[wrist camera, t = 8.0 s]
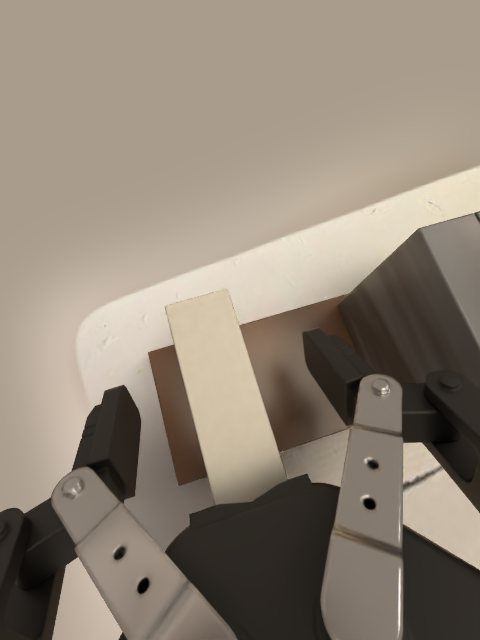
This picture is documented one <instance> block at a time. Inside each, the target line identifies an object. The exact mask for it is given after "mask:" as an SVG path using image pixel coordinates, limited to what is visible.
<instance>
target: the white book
mask: <svg viewBox="0 0 480 640" xmlns="http://www.w3.org/2000/svg"><path fill="white" fill-rule="evenodd" d="M165 310H166V314H167V318H168V322H169V326H170V330H171V334H172V338H173V342H174V346H175V349H176V353H177V357H178V361H179V365H180V369H181V373H182V377H183V381H184V385H185V389H186V393H187V397H188V401H189V405H190V409H191V413H192V417H193V421H194V424H195V428H196V432H197V436H198V440H199V444H200V448H201V452H202V456H203V460H204V464H205V468H206V472H207V476H208V480H209V484H210V488H211V492H212V496H213V499H214V503H215V505H218V504H228V503H243V502H249V501H252V500H255V499H257V498H258V497H260V496H261V495H263V494H264V493H266V492H267V491H268V490H270V489H271V488H273V487H274V486H276V485H277V484H279V483H282V482H285V481H287V476H286V473H285V470H284V467H283V464H282V460H281V457H280V454H279V451H278V448H277V445H276V441H275V438H274V435H273V432H272V429H271V426H270V422H269V419H268V416H267V413H266V410H265V406H264V403H263V400H262V397H261V394H260V391H259V387H258V384H257V381H256V378H255V375H254V371H253V368H252V365H251V362H250V359H249V356H248V352H247V349H246V346H245V343H244V340H243V336H242V333H241V330H240V327H239V324H238V321H237V317H236V314H235V311H234V308H233V305H232V301H231V298H230V295H229V292H228V290H227V289H224V290H220V291H217V292H213V293H209V294H206V295H202V296H199V297H195V298H192V299H188V300H184V301H181V302H177V303H174V304H170V305H167V306H165Z"/></svg>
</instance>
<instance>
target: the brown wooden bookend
mask: <svg viewBox="0 0 480 640" xmlns="http://www.w3.org/2000/svg"><path fill="white" fill-rule="evenodd" d="M239 327H240V330H241V333H242V336H243V340H244V343H245V346H246V349H247V352H248V356H249V359H250V362H251V365H252V368H253V371H254V375H255V378H256V381H257V384H258V387H259V391H260V394H261V397H262V400H263V403H264V406H265V410H266V413H267V416H268V419H269V422H270V426H271V429H272V432H273V435H274V438H275V441H276V445H277V448H278V451H279V452H281V451H284V450H287V449H290V448H293V447H296V446H299V445H302V444H305V443H307V442H310V441H313V440H316V439H319V438H322V437H325V436H328V435H331V434H334V433H337V432H340V431H343V430H346V429H349V428H351V425H349V426H346V425H345V424H344V422H343V421H342V419H341V418H340V416H339V415H338V413H337V412H336V410H335V409H334V407H333V406H332V404H331V403H330V401H329V400H328V398H327V397H326V395H325V394H324V392H323V391H322V389H321V388H320V387H319V385H318V384H317V382H316V381H315V379H314V378H313V376H312V375H311V373H310V372H309V370H308V368H307V365H306V362H305V356H304V346H303V337H302V333H303V332H304V331H307V330H311V329H314V328H317V327H320V328H321V329H322V330H323V331H324V332H325V334H326V335H327V336H330V335H333V334H334V335H336V336H338V337H340V338H343V339H344V340H345V341H346V342H347V343H348V344H349V345H350V346H351V348H353V349H354V350H355V351H356V353H358V354H359V355H360V356H361V357H362V358H363V359H364V360H365V361H366V362H367V363H368V364H369V365H370V366H371V367H372V368H373V369H374V370H375V371H376V372H377V373H378V374H383V375H387V376H390V377H392V378H394V379H395V380H397V381H398V382H399V383H402V384H408V383H425V379H426V376H427V375H428V374H429V373H431V372H433V371H438V370H447V371H453V372H456V373H459V374H461V375H463V376H465V377H466V378H468V379H469V380H470V381H471V382H473V383H474V384H475V385H476V386H478V387H479V388H480V211H479V212H476V213H474V214H469V215H465V216H462V217H458V218H454V219H451V220H447V221H444V222H440V223H436V224H433V225H429V226H426V227H422V228H419V229H417V230H416V231H415V232H414V233H413V234H412V235H411V236H410V237H409V238H408V239H407V240H406V241H405V242H404V243H403V244H402V245H400V246H399V247H398V248H397V249H396V250H395V251H394V252H393V253H392V254H391V255H390V256H389V257H388V258H387V259H386V260H384V261H383V262H382V263H381V264H380V265H379V266H378V267H377V268H376V269H375V270H374V271H373V272H372V273H371V274H370V275H368V276H367V277H366V278H365V279H364V280H363V281H362V282H361V283H360V284H359V285H358V286H357V287H356V288H355V289H354V290H353V291H351V292H350V293H349V294H346V295H342V296H339V297H335V298H332V299H328V300H325V301H322V302H318V303H315V304H311V305H308V306H305V307H301V308H298V309H294V310H291V311H288V312H284V313H281V314H277V315H274V316H270V317H267V318H264V319H260V320H257V321H253V322H250V323H247V324H243V325H240V326H239ZM148 354H149V359H150V363H151V367H152V372H153V376H154V381H155V385H156V389H157V394H158V398H159V402H160V407H161V411H162V415H163V420H164V424H165V429H166V433H167V437H168V442H169V446H170V450H171V455H172V459H173V463H174V468H175V472H176V477H177V481H178V485H179V486H180V485H183V484H186V483H189V482H192V481H195V480H198V479H201V478H204V477H207V472H206V468H205V464H204V460H203V456H202V452H201V448H200V444H199V440H198V436H197V432H196V428H195V424H194V421H193V417H192V413H191V409H190V405H189V401H188V397H187V393H186V389H185V385H184V381H183V377H182V373H181V369H180V365H179V361H178V357H177V353H176V349H175V346H174V345H171V346H168V347H165V348H161V349H158V350H154V351H151V352H148Z"/></svg>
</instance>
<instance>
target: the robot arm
mask: <svg viewBox="0 0 480 640" xmlns="http://www.w3.org/2000/svg"><path fill="white" fill-rule="evenodd" d="M302 337H303V346H304V356H305V362H306V365H307V368H308V370H309V372H310V373H311V375H312V376H313V378H314V379H315V381H316V382H317V384H318V385H319V387H320V388H321V389H322V391H323V392H324V394H325V395H326V397H327V398H328V400H329V401H330V403H331V404H332V406H333V407H334V409H335V410H336V412H337V413H338V415H339V416H340V418H341V419H342V421H343V422H344V424H345V425H346V426H349V425H351V428H350V433H349V439H348V445H347V451H346V457H345V463H344V469H343V475H342V481H341V487H338V486H334V485H331V484H326V483H311V481H310V479H309V477H308V474H305V475H302V476H299V477H296V478H293V479H290V480H287V481H285V482H282V483H279V484H277V485H276V486H274V487H273V488H271V489H270V490H268V491H267V492H266V493H264V494H263V495H261V496H260V497H258V498H257V499H255V500H253V501H251V502H243V503H228V504H218V505H215V506H212V507H209V508H206V509H203V510H201V511H198V512H195V513H192V514H189V517H190V526H188V527H187V528H186V529H184V530H183V531H182V532H181V533H180V534H179V535H178V536H177V537H176V538H175V539H174V540H173V541H172V542H171V544H170V545H169V546H168V547H167V549H166V550H165V552H164V551H163V550H162V549H161V548H160V546H159V545H158V544H157V543H156V542H155V541H154V539H153V538H152V537H151V536H150V535H149V534H148V532H147V531H146V530H145V529H144V528H143V527H142V525H141V524H140V523H139V522H138V521H137V520H136V518H135V517H134V516H133V515H132V514H131V513H130V511H129V510H128V509H127V508H126V507H125V506H124V500H125V499H128V498H131V497H134V496H135V490H136V478H137V466H138V454H139V442H140V431H141V417H140V413H139V410H138V408H137V406H136V405H135V403H134V401H133V399H132V397H131V395H130V393H129V392H128V390H127V388H126V387H125V386H124V385H122V386H118V387H115V388H112V389H108V390H105V392H104V395H103V399H102V403H101V404H100V405H97V406H95V407H94V408H93V410H92V411H91V413H90V414H89V416H88V417H87V420H86V424H85V430H84V431H83V434H82V439H81V441H80V444H79V448H78V451H77V454H76V458H75V461H74V465H73V468H72V471H71V472H70V473H68V474H67V475H66V476H65V477H63V478H62V479H61V480H60V481H59V482H58V484H57V485H56V487H55V488H54V490H53V492H52V496H51V498H49V499H48V500H46V501H45V502H43V503H41V504H40V505H38V506H37V507H35V508H33V509H31V510H30V511H28V512H27V513H25V514H24V513H23V512H22V511H21V510H20V509H18V508H10V509H7V510H4V511H2V512H0V640H52V636H53V631H54V626H55V620H56V615H57V609H58V604H59V599H60V594H61V589H62V583H63V578H64V573H65V567H66V565H67V564H69V563H70V562H71V561H73V560H74V559H76V558H77V557H79V559H80V560H81V562H82V564H83V565H84V567H85V569H86V571H87V572H88V574H89V576H90V577H91V579H92V581H93V582H94V584H95V586H96V587H97V589H98V591H99V592H100V594H101V596H102V598H103V599H104V601H105V603H106V604H107V606H108V608H109V609H110V611H111V613H112V614H113V616H114V618H115V619H116V621H117V623H118V625H119V626H120V628H121V629H122V631H123V632H122V634H121V636H120V638H119V640H480V570H479V569H477V568H475V567H474V566H472V565H470V564H469V563H467V562H465V561H464V560H462V559H460V558H459V557H457V556H455V555H454V554H452V553H450V552H449V551H447V550H445V549H444V548H442V547H440V546H439V545H437V544H435V543H434V542H432V541H430V540H429V539H427V538H425V537H424V536H422V535H420V534H419V533H417V532H415V531H414V530H412V529H411V528H409V527H407V526H406V525H404V524H403V443H412V442H422V443H423V444H424V445H425V446H426V447H427V449H428V450H429V451H430V452H431V454H432V455H433V456H434V457H435V458H436V460H437V461H438V462H439V463H440V465H441V466H442V467H443V468H444V470H445V471H446V472H447V473H448V474H449V476H450V477H451V478H452V479H453V481H454V482H455V483H456V484H457V485H458V487H459V488H460V489H461V490H462V492H463V493H464V494H465V495H466V497H467V498H468V499H469V500H470V501H471V503H472V504H473V505H474V506H475V508H476V509H477V510H478V511H479V513H480V388H479V387H478V386H476V385H475V384H474V383H473V382H471V381H470V380H469V379H468V378H466V377H465V376H463V375H461V374H459V373H456V372H453V371H447V370H438V371H433V372H431V373H429V374H428V375H427V376H426V379H425V383H408V384H402V383H399V382H398V381H397V380H395V379H394V378H392V377H390V376H387V375H383V374H378V373H377V372H376V371H375V370H374V369H373V368H372V367H371V366H370V365H369V364H368V363H367V362H366V361H365V360H364V359H363V358H362V357H361V356H360V355H359V354H358V353H356V351H355V350H354V349H353V348H351V346H350V345H349V344H348V343H347V342H346V341H345V340H344V339H343V338H340V337H338V336H336V335H334V334H333V335H330V336H327V335H326V334H325V332H324V331H323V330H322V329H321V328H320V327H317V328H314V329H311V330H307V331H304V332H303V333H302Z"/></svg>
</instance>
